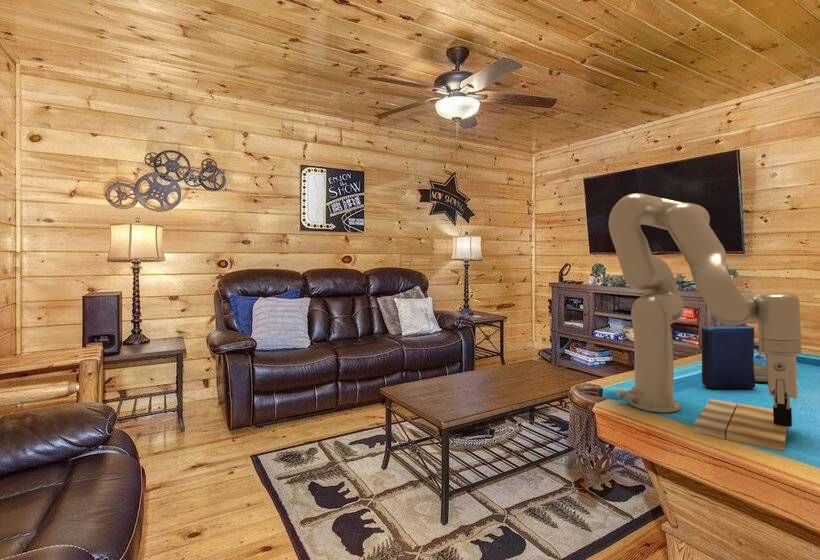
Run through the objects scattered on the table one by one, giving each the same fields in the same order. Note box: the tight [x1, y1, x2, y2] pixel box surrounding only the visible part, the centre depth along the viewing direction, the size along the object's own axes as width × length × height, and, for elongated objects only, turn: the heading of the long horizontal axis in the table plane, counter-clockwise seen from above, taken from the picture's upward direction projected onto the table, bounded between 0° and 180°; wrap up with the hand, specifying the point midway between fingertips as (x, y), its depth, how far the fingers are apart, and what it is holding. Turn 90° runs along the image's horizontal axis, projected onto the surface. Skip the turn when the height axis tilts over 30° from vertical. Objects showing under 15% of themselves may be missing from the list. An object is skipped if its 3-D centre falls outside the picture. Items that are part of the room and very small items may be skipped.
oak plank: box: [725, 403, 788, 452], centre depth 103 cm, size 24×10×2 cm, turn 137°
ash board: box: [693, 398, 738, 439], centre depth 109 cm, size 24×6×2 cm, turn 137°
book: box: [701, 324, 756, 389], centre depth 135 cm, size 14×5×20 cm, turn 84°
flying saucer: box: [754, 362, 777, 383], centre depth 146 cm, size 15×15×6 cm
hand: (782, 424), depth 100 cm, fingers closed
